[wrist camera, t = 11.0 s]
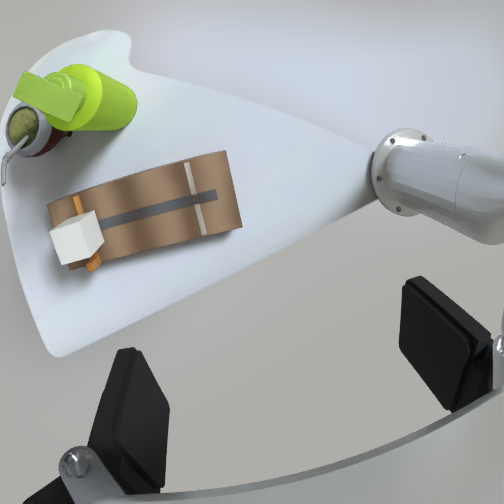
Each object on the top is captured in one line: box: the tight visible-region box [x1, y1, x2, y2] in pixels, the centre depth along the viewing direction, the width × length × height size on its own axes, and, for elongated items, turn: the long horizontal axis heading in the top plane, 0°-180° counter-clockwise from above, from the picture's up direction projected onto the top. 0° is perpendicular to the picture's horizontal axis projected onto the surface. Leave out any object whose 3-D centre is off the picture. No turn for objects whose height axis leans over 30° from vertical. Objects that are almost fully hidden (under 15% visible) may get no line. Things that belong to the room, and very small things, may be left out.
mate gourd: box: [1, 102, 72, 186], centre depth 25 cm, size 8×8×15 cm
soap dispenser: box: [13, 64, 137, 131], centre depth 24 cm, size 6×7×20 cm
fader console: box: [47, 150, 242, 272], centre depth 35 cm, size 23×9×6 cm, turn 102°
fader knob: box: [49, 210, 104, 265], centre depth 32 cm, size 4×4×5 cm
